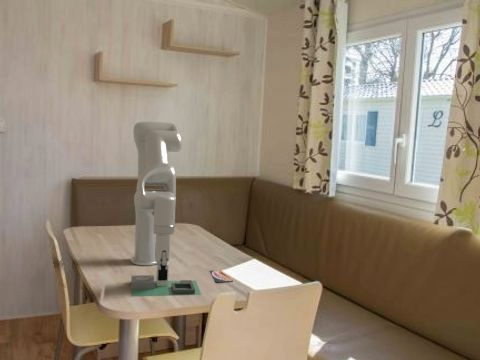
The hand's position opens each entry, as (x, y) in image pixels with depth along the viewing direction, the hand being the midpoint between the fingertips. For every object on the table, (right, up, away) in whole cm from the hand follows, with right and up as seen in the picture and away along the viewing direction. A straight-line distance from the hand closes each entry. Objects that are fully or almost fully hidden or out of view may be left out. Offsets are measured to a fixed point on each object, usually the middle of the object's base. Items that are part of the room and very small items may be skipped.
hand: (162, 277), depth 183 cm
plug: (0, -3, 0) cm, 2 cm away
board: (+2, -4, -3) cm, 6 cm away
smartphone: (+20, -4, +17) cm, 26 cm away
